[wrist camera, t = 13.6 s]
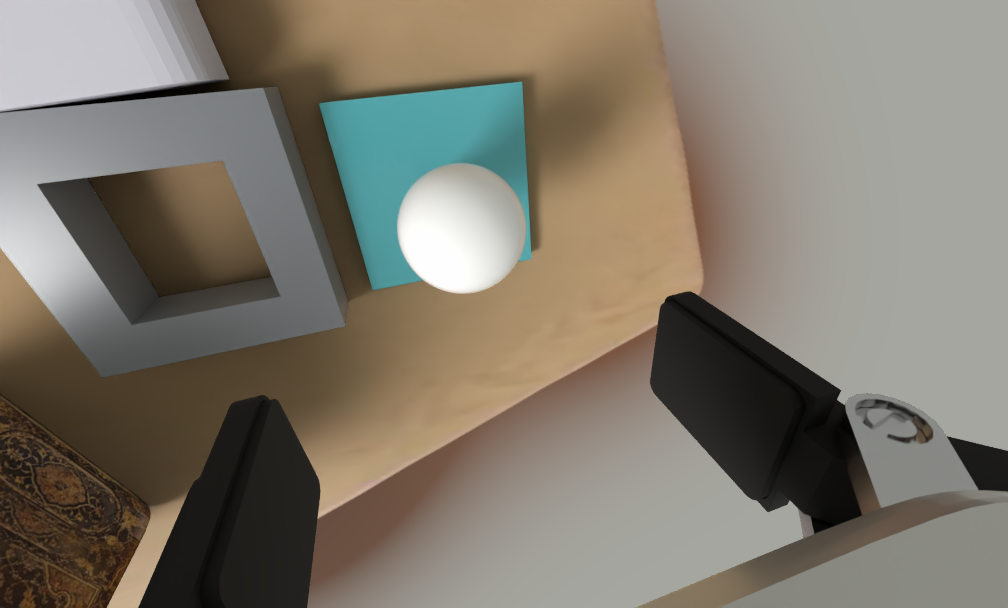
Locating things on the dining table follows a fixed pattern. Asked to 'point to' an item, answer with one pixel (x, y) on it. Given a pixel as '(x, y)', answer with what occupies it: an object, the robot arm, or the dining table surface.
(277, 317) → the frame
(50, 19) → the charger
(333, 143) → the plate
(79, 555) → the book
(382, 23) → the dining table surface
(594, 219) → the dining table surface
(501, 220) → the lightbulb
